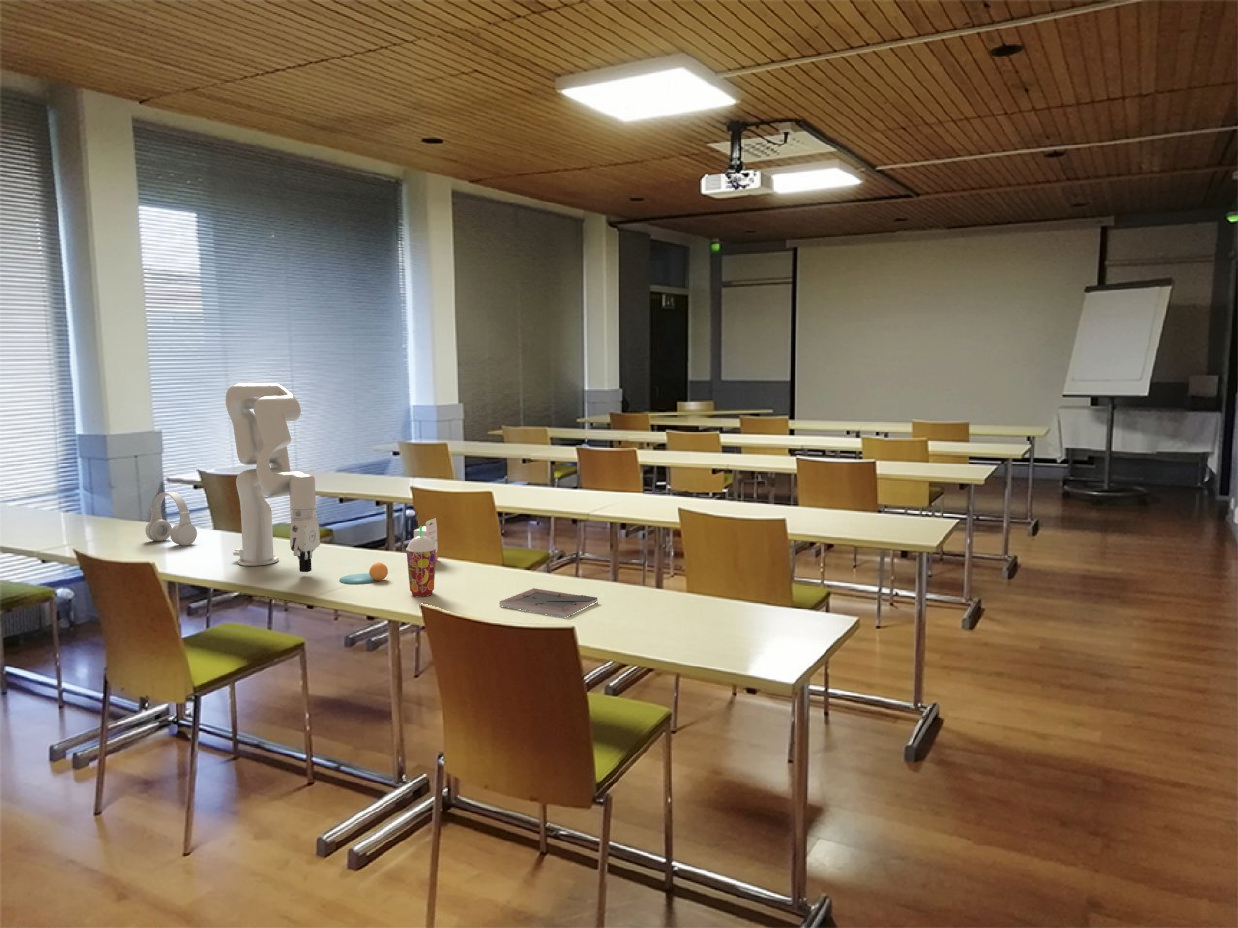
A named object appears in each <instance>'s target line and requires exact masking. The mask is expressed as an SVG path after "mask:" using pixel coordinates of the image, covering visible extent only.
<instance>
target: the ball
mask: <svg viewBox="0 0 1238 928" xmlns="http://www.w3.org/2000/svg"><path fill="white" fill-rule="evenodd" d="M368 573H369V574H370V576H371V578H372V579H374V580H377V582H380V581H382V580H385V578H386V577H387V576H388V573H389V570H388V567H387V566H386V564H384V563H382V562H376V563H375V562H374V563H373V564H372V565H371V566H370V568H369V571H368Z"/></svg>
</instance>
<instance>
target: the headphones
mask: <svg viewBox="0 0 1238 928" xmlns="http://www.w3.org/2000/svg"><path fill="white" fill-rule="evenodd" d="M166 496H169V497H171V499H172V500H173V501H174V502H175V504H176V507H177V509H178V514H179V515H178V516H179V523H176V524H175V525H174V526H173V527H172V525H171V522H168V520H165V519H163V517H162V516H163V515H162V507H161V506H162V504H163V501H164V499H165V497H166ZM150 513H151V514H150V520H149V522H148V523H147V525H146V527H145V535H146V537H147V538H148V539H149V540H151V541H154V542H163V540H164V541H166V540H167V539H168V538H170V539H171V541H172V543H175V545H179V546H182V547H185V546H187V545H188V546H190V545H192V544H194V542H195V541H196V539H197V536H198V532H197V531H198V530H197V528H196V526H195V525H193V523H192V522H191V518H190V515H191V512H190V511H189V509H188V506H187V504H186V501H185V500H184V498H183V496H182V495H181V494H179V493H178V492H176V491H165V492H160V493H159V494H157V495H156V496H155V498H154V499H153V503H152V505H151V508H150Z"/></svg>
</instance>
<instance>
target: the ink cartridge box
mask: <svg viewBox="0 0 1238 928" xmlns="http://www.w3.org/2000/svg"><path fill="white" fill-rule="evenodd" d="M431 523H432V524H431ZM430 524H431V525H430ZM437 525H438V524H437V518H436V517H434V518H432V519H430V520H429V519H428V520H427V521H426V522H425V525H423V526H422V535H423V536H426V537H428V538H430V539H431V540H432V542H433V543H434V546H435V547H436V555H435V562H436V561H438V559H439V558H438V557H439V555H438V554H439V553H438V551H439V549H438V547H439V546H438V526H437ZM417 536H420V527H419V528H416V529H414V530H413V538H414V537H417Z"/></svg>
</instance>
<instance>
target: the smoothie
mask: <svg viewBox="0 0 1238 928" xmlns="http://www.w3.org/2000/svg"><path fill="white" fill-rule="evenodd" d="M422 527H423V526H422V525H420V526H419V528H420V536H417V537H414V536H413V538H412V539H411V540H410V541H409V543H408V544H407V547H406V548H405V550H406V560H407V570H408V571H407V572H408V581H409V582H408V584H409V591H410V592H411V595H412V596H414V597H416V596H424V597H428V596H427V595H429V596H431V595H432V594H433V591H434V590H435V575H436V561H435V555H436V547H435V546H434V543H433V542H432V540H431V539H430V538H428V537H426V536H423V535H422ZM430 594H431V595H430Z"/></svg>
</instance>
